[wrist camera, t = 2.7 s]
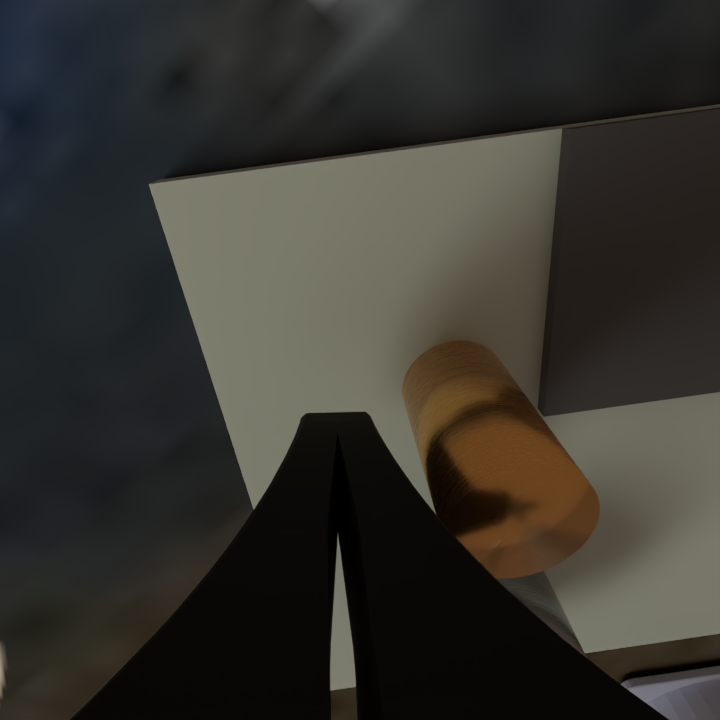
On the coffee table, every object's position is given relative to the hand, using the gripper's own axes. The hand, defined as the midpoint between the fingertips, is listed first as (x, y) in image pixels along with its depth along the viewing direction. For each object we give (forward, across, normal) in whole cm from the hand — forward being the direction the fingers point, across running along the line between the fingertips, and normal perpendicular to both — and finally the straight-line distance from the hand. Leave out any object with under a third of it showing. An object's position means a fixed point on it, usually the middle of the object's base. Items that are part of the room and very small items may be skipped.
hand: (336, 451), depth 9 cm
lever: (+2, -3, +2) cm, 4 cm away
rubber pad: (+3, -9, -3) cm, 10 cm away
